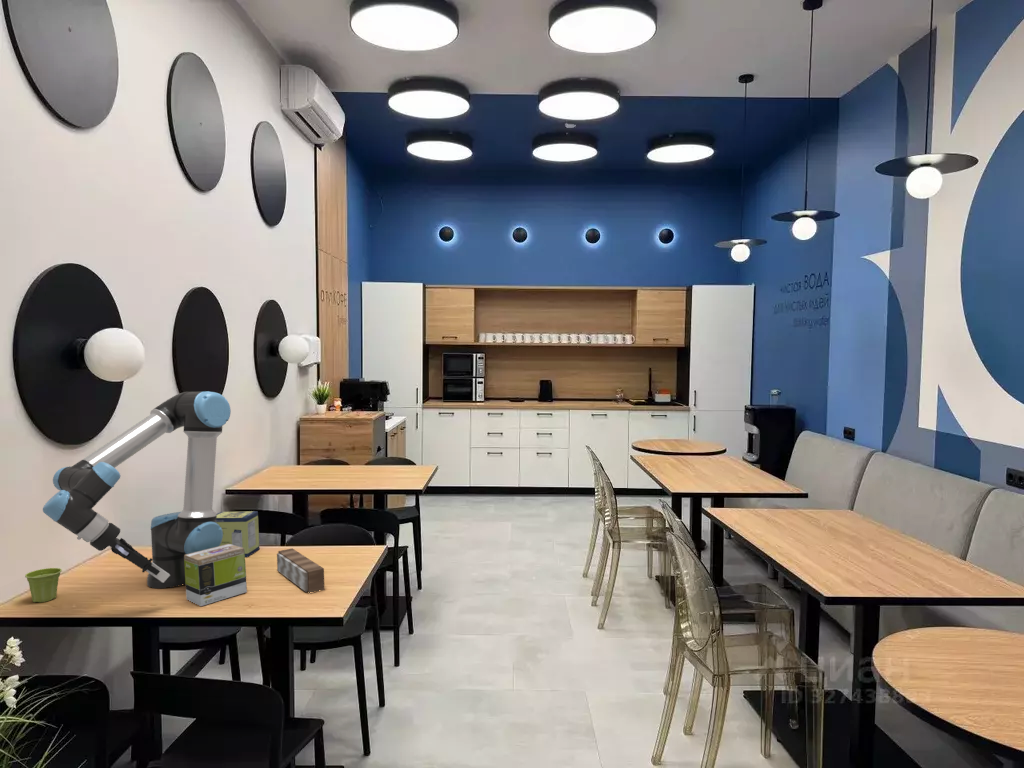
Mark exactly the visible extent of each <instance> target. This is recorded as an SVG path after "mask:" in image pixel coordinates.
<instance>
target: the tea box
mask: <svg viewBox="0 0 1024 768" xmlns="http://www.w3.org/2000/svg"><path fill="white" fill-rule="evenodd" d="M184 565H185V596H186V601H188V600H189V602H190V601H191V602H190V603H192V602H193V603H192V604H194V603H195V605H196V604H197V605H196V606H198V605H199V607H203V606H206V605H209V604H213V603H216V602H219V601H222V600H225V599H229V598H232V597H235V596H239V595H241V594H244V593H248V587H247V584H248V583H247V571H246V570H247V569H246V568H247V567H246V557H245V551H244V548H242V547H238V546H235V545H232V544H225V545H222V546H218V547H214V548H210V549H206V550H202V551H198V552H194V553H190V554H186V555H184Z"/></svg>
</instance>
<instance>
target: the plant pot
mask: <svg viewBox="0 0 1024 768" xmlns="http://www.w3.org/2000/svg"><path fill="white" fill-rule="evenodd" d="M62 571H63V569H62V568H59V567H48V568H41V569H36V570H33V571H30V572H27V573H26V574H25V575H24V578H26V581H27V583H28V586H29V591H30V595H31V600H32V602H33V603H44V602H45V603H46V602H49V601H52V600H53V599H56V598H57V593H58V585H59V580H60V579H59V577H60V575H61V573H62Z"/></svg>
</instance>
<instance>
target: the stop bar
mask: <svg viewBox="0 0 1024 768" xmlns="http://www.w3.org/2000/svg"><path fill="white" fill-rule="evenodd" d="M276 566H277V567H276V568H277V571H278V572H279V573H280V574H282V575H283V576H284V577H286V578H287V579H288V580H290V581H291V582H292V583H293V584H294V585H296V586H297V587H299V588H300V589H301V590H302V591H304V592H305V593H308V592H309V593H310V592H314V591H318V592H320V591H319V590H322V591H325V567H323V566H320V565H319V564H318V563H316V562H314V560H311V559H310V558H308V557H306V556H305V555H303V554H302V553H300V552H298V551H297V550H295V549H294V548H288V549H282V550H278V551H277V553H276ZM277 571H276V572H277ZM307 591H308V592H307ZM309 593H308V594H309ZM314 593H315V592H314ZM310 594H311V593H310Z"/></svg>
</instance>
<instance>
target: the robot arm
mask: <svg viewBox="0 0 1024 768" xmlns="http://www.w3.org/2000/svg"><path fill="white" fill-rule="evenodd" d="M149 413H150V414H149V415H148V416H146V417H145V418H144V419H142V420H141V421H139V422H137V423H136V424H135V425H133V426H131V427H130V428H128V429H126V430H125V431H123V432H122V433H121V434H119V435H117V436H116V437H115V438H113V439H112V440H109V442H106V443H105V444H104V445H103V446H101V447H99V448H98V449H97V450H94V452H91V453H90V454H89V455H88V456H85V457H84V458H83V459H81V460H79V461H78V462H77V463H75V464H74V465H72V466H65V467H61V468H59V469H58V470H57V471H55V473H54V475H53V478H52V483H53V486H54V488H55V489H57V490H58V491H57V492H56V493H55V494H54V495H53V496H51V498H50V499H49V500H47V501H46V503H45V504H43V507H42V512H43V513H44V514H45V515H46V516H48V518H50V519H51V520H53V522H56V523H57V524H58V525H60V526H62V527H63V528H65V529H66V530H67V531H69V532H70V533H72V534H74V535H76V536H77V537H76V539H77V540H79V541H80V540H81V539H82V540H83V541H85V543H89V545H90V546H91V547H93V548H95V549H96V550H98V551H99V552H102V551H104V550H105V549H107V548H108V547H110V550H111V552H112V553H114V554H116V555H118V556H120V557H121V558H123V559H126V560H127V561H128V562H130V563H131V564H133V565H135V566H136V567H138V568H140V569H141V572H142V573H143V574H144V573H145V572H146V573H148V575H147V577H146V585H148V586H149V587H148V586H147V587H148V588H151V587H152V589H167V588H166V587H170V588H174V587H173V586H176V587H179V586H178V585H181V586H183V585H182V584H185V565H184V555H186V554H190V553H194V552H198V551H202V550H206V549H210V548H214V547H218V546H220V544H221V541H222V538H223V532H222V529H221V527H220V526H219V525H218V524H217V523H216V518H217V514H218V513H216V512H215V511H214V510H213V502H214V500H213V499H214V486H215V485H214V484H215V469H216V458H217V457H216V456H217V455H216V454H217V440H218V439H217V438H218V437H219V436H220V435H221V434H223V426H224V425H225V424H226V423H227V422H229V420H230V417H231V405H230V403H229V401H228V399H227V398H226V397H225V396H224V395H222V394H221V393H218V392H215V391H209V390H208V391H206V390H204V391H184V392H181V393H177V394H176V395H174V396H172V397H170V398H168V399H166V400H165V401H163V402H162V403H161V404H159V405H156V407H154V408H153V409H152V410H150V412H149ZM182 427H183V431H182V432H183V433H184V434H185V435H186V436H187V450H186V451H187V452H186V453H187V454H186V467H185V481H184V492H183V493H184V496H183V510H182V511H177V512H171V513H170V512H169V513H165V514H161V515H157V516H154V517H153V518H152V519H151V523H150V532H151V533H150V534H151V535H150V536H151V539H150V540H151V556H152V557H151V558H149V559H148V557H146V556H144V555H143V554H141V552H139V551H137V549H135V548H134V547H133V546H132V545H131V544H130V543H128V542H127V541H126V540H125V539H124V538H122V537H120V539H119V538H117V537H119V535H120V533H121V528H119V527H118V526H116V525H115V524H114V523H112V522H109V520H108V519H107V517H104V516H102V515H101V514H100V513H98V512H96V511H95V510H94V509H93V508H94V507H95V506H96V505H97V504H98V503H99V502H100V501H101V500H102V499H103V498H104V497H105V495H106V494H107V493H109V492H110V490H111V489H112V488H114V487H115V485H116V484H117V482H119V480H120V479H121V473H120V472H119V470H118V469H116V467H118V466H119V465H121V464H122V463H124V462H125V461H126V460H128V459H130V458H131V457H132V456H134V455H136V454H137V453H138V452H140V451H141V450H143V449H144V448H146V447H147V446H149V445H151V443H152V442H154V441H156V440H157V439H159V438H161V436H163V435H164V434H171V433H173V432H174V431H176V430H177V429H180V428H182ZM185 585H186V584H185Z"/></svg>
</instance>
